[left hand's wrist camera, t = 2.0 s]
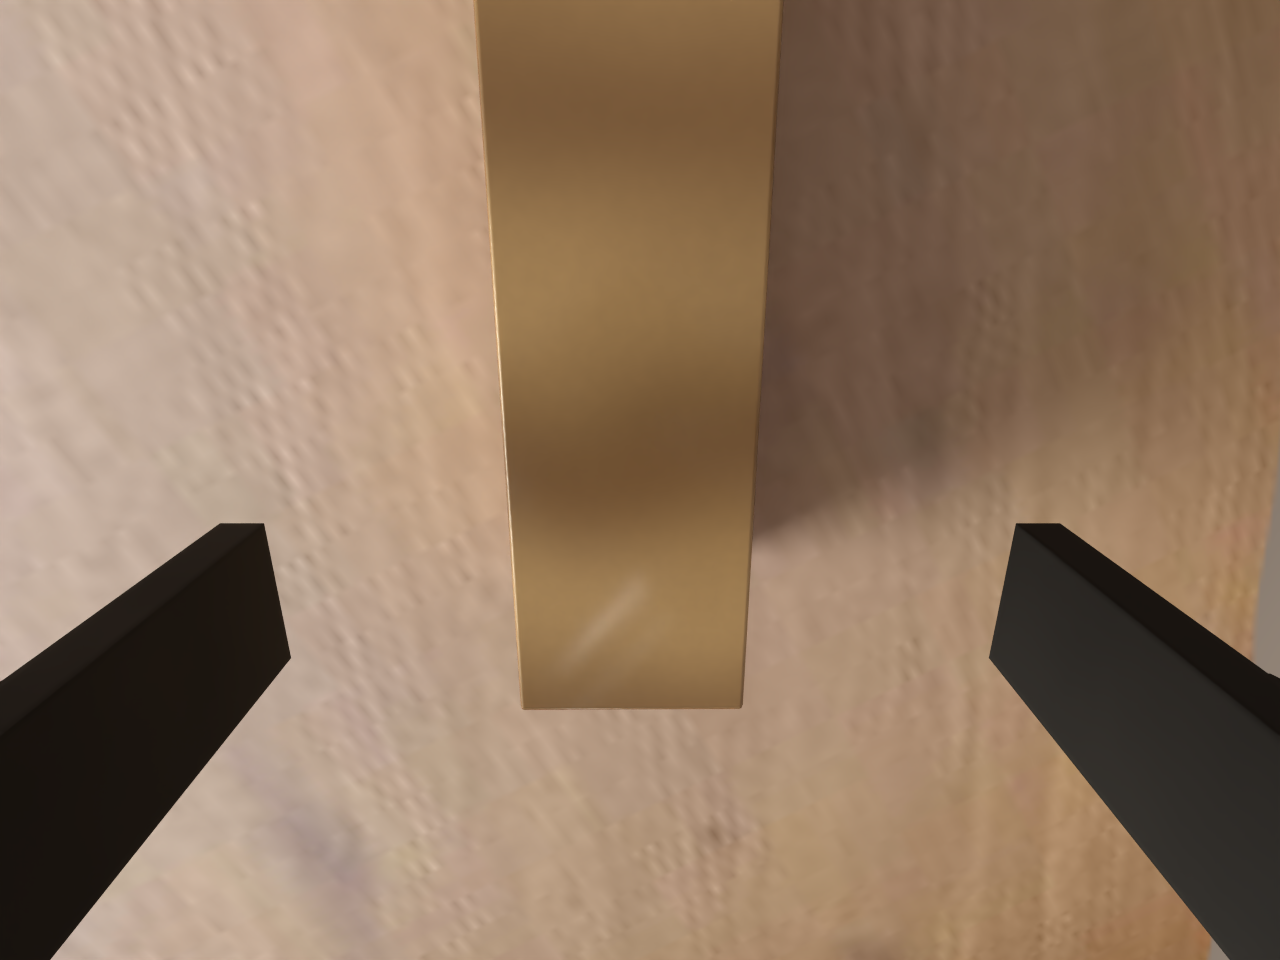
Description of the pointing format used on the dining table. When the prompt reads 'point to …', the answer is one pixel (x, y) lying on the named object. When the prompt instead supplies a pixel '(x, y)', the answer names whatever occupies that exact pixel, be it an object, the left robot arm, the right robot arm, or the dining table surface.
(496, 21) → the bar
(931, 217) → the dining table surface
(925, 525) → the dining table surface
